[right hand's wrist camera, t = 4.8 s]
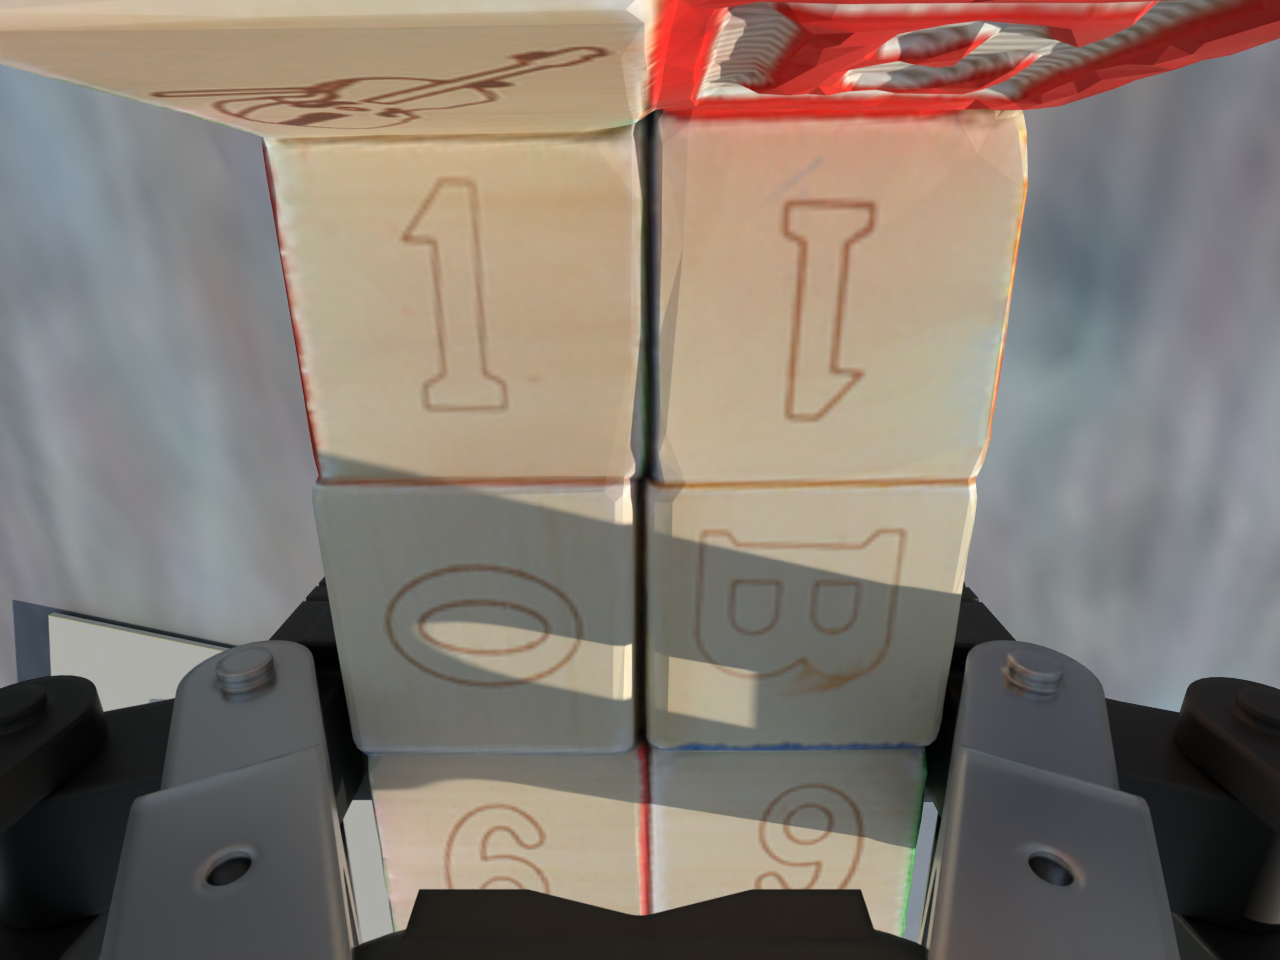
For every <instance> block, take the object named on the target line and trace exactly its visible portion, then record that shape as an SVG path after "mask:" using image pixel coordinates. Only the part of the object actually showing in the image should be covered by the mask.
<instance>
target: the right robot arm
mask: <svg viewBox="0 0 1280 960" xmlns="http://www.w3.org/2000/svg"><path fill="white" fill-rule="evenodd" d="M925 752H926V763H927V777H926V782H925V791H924V802H933V803H934V805H935V807H936V809H937V811H938V815H937V820H936V826H935V831H934V836H933V843H932V849H931V856H930V862H929V869H928V875H927V882H926V889H925V895H924V902H923V908H922V915H921V921H920V928H919V934H918V941H917V943H916V942H913V941H910V940H907V939H904V938H902V937H899V936H896V935H893V934H890V933H887V932H883V931H880V930H876V929H874V927H873V924H872V921H871V918H870V915H869V912H868V909H867V906H866V903H865V900H864V897H863V894H862V891H861V889H751V890H747V891H743V892H739V893H735V894H731V895H727V896H723V897H719V898H715V899H711V900H707V901H702V902H698V903H694V904H690V905H686V906H682V907H678V908H674V909H670V910H666V911H662V912H658V913H654V914H648V915H632V914H626V913H622V912H618V911H614V910H610V909H606V908H602V907H598V906H594V905H590V904H586V903H582V902H578V901H573V900H569V899H565V898H561V897H557V896H553V895H549V894H545V893H541V892H537V891H533V890H529V889H419V891H418V894H417V897H416V900H415V903H414V906H413V909H412V912H411V915H410V918H409V921H408V924H407V927H406V929H404V930H401V931H397V932H393V933H390V934H387V935H384V936H381V937H378V938H376V939H373V940H370V941H367V942H364V943H363V941H362V934H361V928H360V921H359V915H358V908H357V902H356V895H355V889H354V882H353V876H352V869H351V863H350V856H349V849H348V843H347V837H346V831H345V826H344V820H343V819H344V817H345V815H346V813H347V810H348V808H349V806H350V804H351V802H352V800H372V799H371V791H370V782H369V768H368V755H366V754H365V753H364V752H362V751H361V750H360V749H358V748H357V746H356V744H355V742H354V740H353V737H352V731H351V725H350V719H349V713H348V708H347V702H346V696H345V690H344V685H343V679H342V673H341V667H340V662H339V656H338V650H337V644H336V638H335V633H334V627H333V621H332V615H331V609H330V603H329V597H328V591H327V585H326V579H325V577H324V578H323V579H322V580H321V581H320V582H319V586H316V587H315V588H314V589H313V590H312V592H311V593H310V594H309V595H308V596H307V597H306V601H303V602H302V603H301V604H300V605H299V606H298V608H297V609H296V610H295V611H294V612H293V613H292V614H291V615H290V617H289V618H288V619H287V620H286V621H285V622H284V623H283V625H282V626H281V627H280V628H279V629H278V630H277V631H276V633H275V634H274V635H273V636H272V637H271V638H270V639H269V641H259V642H254V643H248V644H244V645H241V646H237V647H234V648H231V649H228V650H225V651H223V652H220V653H218V654H216V655H214V656H212V657H210V658H208V659H206V660H204V661H203V662H201V663H200V664H198V665H197V666H195V667H194V668H193V669H192V670H190V671H189V672H188V673H187V674H186V675H185V676H184V677H183V678H182V680H181V681H180V683H179V684H178V687H177V690H176V695H175V698H172V699H168V700H163V701H158V702H152V703H147V704H142V705H136V706H131V707H126V708H120V709H115V710H110V711H105V712H104V711H103V708H102V705H101V702H100V699H99V695H98V692H97V689H96V686H95V685H94V683H93V682H91V681H90V680H89V679H86V678H83V677H80V676H73V675H57V676H47V677H41V678H35V679H31V680H26V681H22V682H19V683H16V684H12V685H9V686H6V687H3V688H1V689H0V960H1280V689H1277V688H1274V687H1271V686H1267V685H1264V684H1260V683H1256V682H1252V681H1248V680H1242V679H1236V678H1226V677H1210V678H1203V679H1200V680H1197V681H1194V682H1193V683H1192V684H1190V685H1189V687H1188V688H1187V691H1186V694H1185V697H1184V700H1183V704H1182V707H1181V710H1180V713H1179V712H1174V711H1168V710H1163V709H1158V708H1152V707H1147V706H1142V705H1136V704H1131V703H1126V702H1121V701H1116V700H1112V699H1107V698H1105V695H1104V690H1103V687H1102V685H1101V683H1100V681H1099V680H1098V678H1097V677H1096V676H1095V675H1094V674H1093V673H1092V672H1091V671H1090V670H1088V669H1087V668H1086V667H1085V666H1083V665H1082V664H1080V663H1079V662H1077V661H1076V660H1074V659H1072V658H1070V657H1068V656H1066V655H1064V654H1062V653H1060V652H1057V651H1055V650H1052V649H1049V648H1046V647H1043V646H1039V645H1036V644H1032V643H1026V642H1021V641H1016V640H1015V639H1014V638H1013V637H1012V636H1011V634H1010V633H1009V632H1008V631H1007V630H1006V629H1005V628H1004V627H1003V625H1002V624H1001V623H1000V622H999V621H998V620H997V619H996V618H995V616H994V615H993V614H992V613H991V612H990V611H989V610H988V609H987V607H986V606H985V605H984V604H983V603H982V602H979V598H978V597H977V596H976V595H975V594H974V593H973V592H972V591H971V589H970V588H969V587H966V586H965V583H964V582H963V588H962V595H961V602H960V609H959V615H958V622H957V629H956V636H955V642H954V647H953V653H952V658H951V664H950V669H949V675H948V680H947V686H946V692H945V700H944V707H943V715H942V721H941V725H940V729H939V733H938V736H937V738H936V740H935V741H933V742H932V743H931V744H930V745H928V746H925Z"/></svg>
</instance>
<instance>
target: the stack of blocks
mask: <svg viewBox="0 0 1280 960" xmlns="http://www.w3.org/2000/svg"><path fill="white" fill-rule="evenodd" d="M1279 38H1280V0H0V64H2V65H6V66H9V67H13V68H17V69H20V70H24V71H27V72H31V73H35V74H38V75H42V76H45V77H49V78H52V79H56V80H60V81H63V82H67V83H71V84H74V85H78V86H82V87H86V88H89V89H93V90H97V91H101V92H104V93H108V94H112V95H116V96H119V97H123V98H127V99H131V100H134V101H138V102H142V103H146V104H149V105H153V106H157V107H161V108H164V109H168V110H172V111H176V112H179V113H183V114H186V115H190V116H193V117H197V118H200V119H204V120H207V121H211V122H214V123H217V124H221V125H224V126H228V127H231V128H235V129H238V130H242V131H245V132H248V133H252V134H255V135H258V136H261V138H262V146H263V154H264V162H265V169H266V175H267V182H268V187H269V193H270V198H271V204H272V209H273V215H274V221H275V227H276V233H277V239H278V245H279V251H280V257H281V263H282V269H283V275H284V281H285V287H286V292H287V298H288V304H289V310H290V316H291V322H292V328H293V334H294V340H295V345H296V351H297V357H298V363H299V370H300V376H301V382H302V388H303V394H304V400H305V407H306V413H307V419H308V425H309V431H310V437H311V443H312V449H313V454H314V459H315V462H316V466H317V470H318V474H319V476H318V478H317V481H316V483H315V485H314V487H313V489H312V502H313V508H314V514H315V520H316V526H317V532H318V538H319V544H320V550H321V556H322V562H323V568H324V573H325V579H326V585H327V591H328V597H329V603H330V609H331V615H332V621H333V627H334V633H335V638H336V644H337V650H338V656H339V662H340V667H341V673H342V679H343V685H344V690H345V696H346V702H347V708H348V713H349V719H350V725H351V731H352V737H353V740H354V742H355V744H356V746H357V748H358V749H360V750H361V751H362V752H364V753H365V754H366V755H368V768H369V782H370V791H371V799H372V805H373V812H374V818H375V824H376V830H377V835H378V840H379V845H380V851H381V858H382V866H383V874H384V882H385V887H386V890H387V893H388V898H389V909H390V915H391V921H392V927H393V932H397V931H401V930H404V929H406V927H407V924H408V921H409V918H410V915H411V912H412V909H413V906H414V903H415V900H416V897H417V894H418V891H419V889H529V890H533V891H537V892H541V893H545V894H549V895H553V896H557V897H561V898H565V899H569V900H573V901H578V902H582V903H586V904H590V905H594V906H598V907H602V908H606V909H610V910H614V911H618V912H622V913H626V914H632V915H648V914H654V913H658V912H662V911H666V910H670V909H674V908H678V907H682V906H686V905H690V904H694V903H698V902H702V901H707V900H711V899H715V898H719V897H723V896H727V895H731V894H735V893H739V892H743V891H747V890H751V889H861V891H862V894H863V897H864V900H865V903H866V906H867V909H868V912H869V915H870V918H871V921H872V924H873V927H874V929H876V930H880V931H883V932H887V933H890V934H893V935H896V936H899V937H903V935H904V931H905V920H906V911H907V905H908V899H909V892H910V886H911V879H912V872H913V865H914V858H915V851H916V844H917V839H918V834H919V829H920V823H921V817H922V810H923V802H924V791H925V782H926V777H927V763H926V752H925V746H928V745H930V744H931V743H932V742H933V741H935V740H936V738H937V736H938V733H939V729H940V725H941V721H942V715H943V707H944V700H945V692H946V686H947V680H948V675H949V669H950V664H951V658H952V653H953V647H954V642H955V636H956V629H957V622H958V615H959V609H960V602H961V595H962V588H963V581H964V575H965V568H966V561H967V556H968V551H969V546H970V541H971V535H972V530H973V525H974V518H975V511H976V503H977V493H976V484H975V479H976V477H977V475H978V473H979V471H980V469H981V467H982V465H983V463H984V459H985V455H986V451H987V447H988V444H989V441H990V438H991V427H992V418H993V412H994V407H995V402H996V396H997V390H998V384H999V378H1000V371H1001V365H1002V359H1003V353H1004V346H1005V340H1006V332H1007V324H1008V316H1009V309H1010V301H1011V293H1012V286H1013V279H1014V273H1015V266H1016V259H1017V252H1018V245H1019V238H1020V232H1021V225H1022V219H1023V212H1024V206H1025V199H1026V193H1027V186H1028V175H1027V136H1026V126H1025V120H1024V115H1023V110H1028V109H1039V108H1047V107H1056V106H1062V105H1065V104H1068V103H1071V102H1074V101H1077V100H1080V99H1083V98H1087V97H1090V96H1093V95H1096V94H1099V93H1102V92H1105V91H1108V90H1112V89H1115V88H1117V87H1120V86H1122V85H1125V84H1127V83H1130V82H1132V81H1134V80H1138V79H1141V78H1145V77H1149V76H1152V75H1156V74H1160V73H1164V72H1167V71H1171V70H1175V69H1178V68H1181V67H1184V66H1187V65H1190V64H1193V63H1196V62H1199V61H1202V60H1206V59H1212V58H1217V57H1223V56H1228V55H1232V54H1235V53H1238V52H1241V51H1244V50H1247V49H1250V48H1252V47H1255V46H1258V45H1261V44H1264V43H1267V42H1270V41H1273V40H1276V39H1279Z"/></svg>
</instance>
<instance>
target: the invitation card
mask: <svg viewBox="0 0 1280 960" xmlns="http://www.w3.org/2000/svg"><path fill="white" fill-rule="evenodd" d="M48 616H49V639H50V663H51V676H57V675H73V676H80V677H83V678H86V679H89V680H90V681H91V682H93V683H94V685H95V686H96V689H97V692H98V695H99V699H100V702H101V705H102V708H103V711H104V712H105V711H110V710H115V709H120V708H126V707H131V706H136V705H142V704H147V703H152V702H158V701H163V700H168V699H172V698H175V695H176V690H177V687H178V684H179V683H180V681H181V680H182V678H183V677H184V676H185V675H186V674H187V673H188V672H189V671H190V670H192V669H193V668H194V667H195V666H197V665H198V664H200V663H201V662H203V661H204V660H206V659H208V658H210V657H212V656H214V655H216V654H218V653H220V652H223V651H225V650H228V649H229V648H224V647H219V646H215V645H210V644H205V643H200V642H195V641H190V640H185V639H181V638H176V637H171V636H166V635H161V634H156V633H151V632H147V631H142V630H137V629H132V628H127V627H122V626H117V625H113V624H108V623H103V622H98V621H93V620H88V619H83V618H79V617H74V616H69V615H64V614H59V613H54V612H53V613H51V614H50V615H48ZM343 820H344V826H345V831H346V837H347V843H348V849H349V856H350V863H351V869H352V876H353V882H354V889H355V895H356V902H357V908H358V915H359V921H360V928H361V934H362V941H363V943H364V942H367V941H370V940H373V939H376V938H378V937H381V936H384V935H387V934H390V933H393V927H392V921H391V915H390V909H389V898H388V893H387V890H386V887H385V882H384V874H383V866H382V858H381V851H380V845H379V840H378V835H377V830H376V824H375V818H374V812H373V805H372V800H352V802H351V804H350V806H349V808H348V810H347V813H346V815H345V817H344V819H343Z"/></svg>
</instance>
